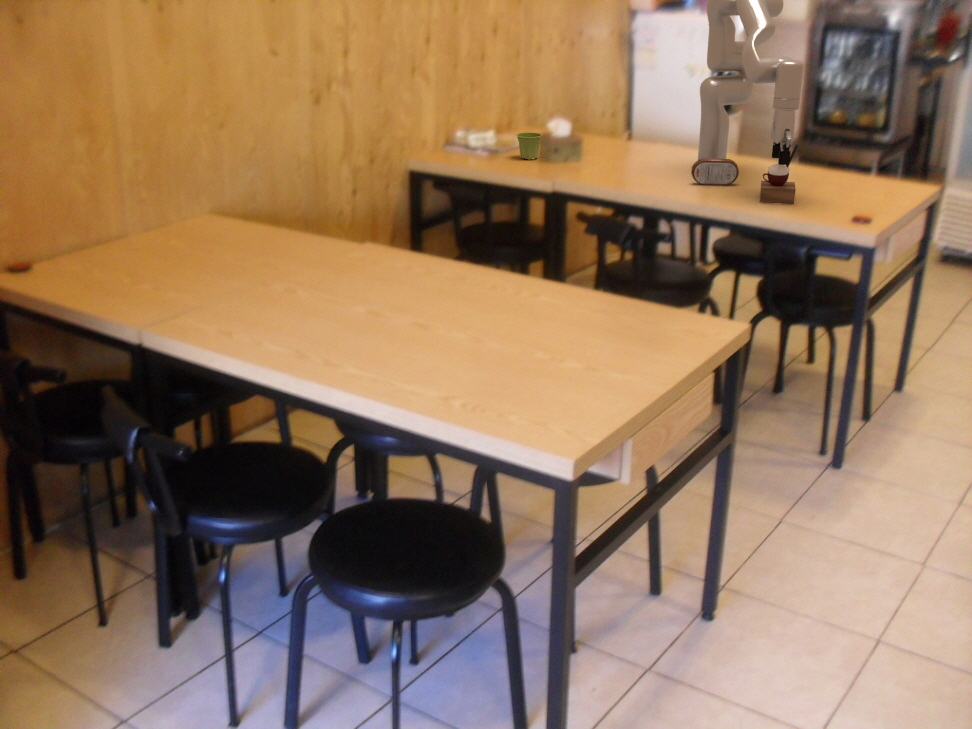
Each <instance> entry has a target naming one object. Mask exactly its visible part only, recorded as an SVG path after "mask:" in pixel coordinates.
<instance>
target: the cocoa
mask: <svg viewBox="0 0 972 729" xmlns="http://www.w3.org/2000/svg"><path fill="white" fill-rule="evenodd" d="M798 148H799V145H798V144H797V143H796V144H795V146H794V148H793V150H792V151H791V154H790V163H789V165H779V164H778V163H775V164H772V165H770V166H768V167H767V173H763V174H762V178H763V181H767V182H768V183H770V184H772V185H775V186H781V185H784V184H785V183H786V182H788V179H789V175H790V167H789V166H790V164H791V163H792V160H793V158H794V156H795V155H796V151H797V150H798ZM765 176H767V178H765Z"/></svg>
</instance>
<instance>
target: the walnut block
mask: <svg viewBox="0 0 972 729" xmlns="http://www.w3.org/2000/svg"><path fill="white" fill-rule="evenodd" d="M767 181H768V180H767ZM767 181H765V180H761V181H760V190H759V191H760V192H759V203H760V202H763V203H762V204H774V203H782V204H781V205H793V204H794V205H795V199H796V198H795V197H796V190H797V188H796V183H795V181H787V182H786V183H785V184H784V185H781V186H775V185H772V184H770V183H768V182H767Z"/></svg>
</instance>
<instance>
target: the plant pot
mask: <svg viewBox="0 0 972 729" xmlns="http://www.w3.org/2000/svg"><path fill="white" fill-rule="evenodd" d="M540 135H542V136H543V134H542V133H540V132H533V131H532V132H531V131H530V132H520V133H517V134H516V137H517V140H518V145H519V147H518V148H519V155H520V159H521V158H525V159H524V160H526V159H532V158H537V157H539V149H540V144H541V140H540ZM537 159H538V158H537Z"/></svg>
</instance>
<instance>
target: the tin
mask: <svg viewBox="0 0 972 729" xmlns="http://www.w3.org/2000/svg"><path fill="white" fill-rule="evenodd" d="M739 173H740V171H739V167H738V164H737V163H736V162H735V160H732V159H730V158H726V159H712V158H703V159H700V160H698V159H697V160H696V161H695V162H694V163H693V165H692V167H691V173H690V174H691V176H692V178H693V180H694V182H696V183H697V184H699V185H702V186H730V185H732V184H733V183H734V182H736V181H737V179H738V177H739Z"/></svg>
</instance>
